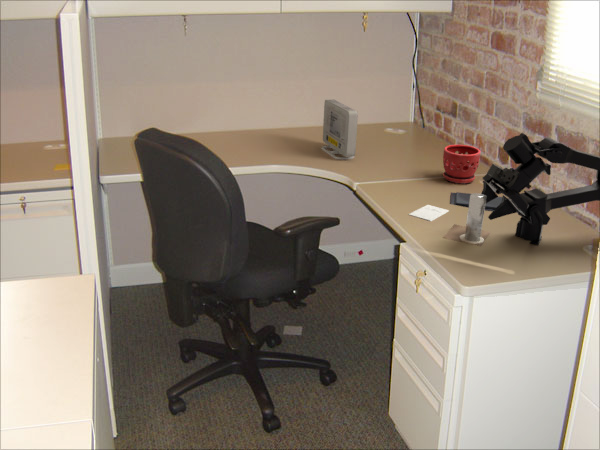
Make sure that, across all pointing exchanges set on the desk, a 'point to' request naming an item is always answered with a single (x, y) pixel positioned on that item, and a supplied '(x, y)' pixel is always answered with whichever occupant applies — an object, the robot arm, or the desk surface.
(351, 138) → the network device
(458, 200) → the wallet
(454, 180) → the plant pot
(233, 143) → the desk surface
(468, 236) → the steel pin
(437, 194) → the desk surface
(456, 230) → the board
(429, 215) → the external hard drive
